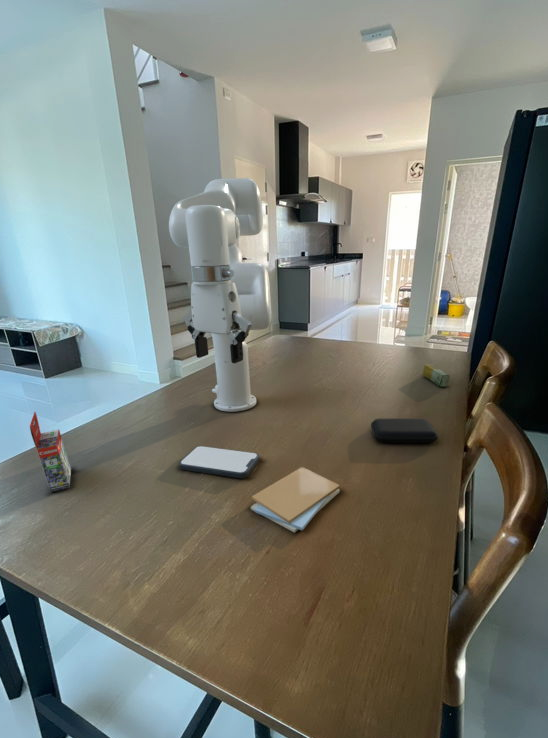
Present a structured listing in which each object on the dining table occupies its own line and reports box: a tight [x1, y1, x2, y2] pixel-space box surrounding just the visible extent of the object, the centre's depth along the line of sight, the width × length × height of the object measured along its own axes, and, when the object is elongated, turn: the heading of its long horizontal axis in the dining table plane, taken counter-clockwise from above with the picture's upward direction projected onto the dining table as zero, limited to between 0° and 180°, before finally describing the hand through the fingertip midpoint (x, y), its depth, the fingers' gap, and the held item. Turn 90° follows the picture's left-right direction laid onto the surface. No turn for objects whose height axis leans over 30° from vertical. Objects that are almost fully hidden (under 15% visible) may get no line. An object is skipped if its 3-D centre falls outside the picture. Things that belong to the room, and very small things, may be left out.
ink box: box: [29, 411, 72, 493], centre depth 76 cm, size 4×8×15 cm, turn 26°
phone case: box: [178, 445, 261, 479], centre depth 83 cm, size 9×2×16 cm
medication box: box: [421, 363, 451, 388], centre depth 127 cm, size 12×3×4 cm, turn 10°
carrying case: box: [370, 417, 439, 444], centre depth 93 cm, size 11×3×15 cm
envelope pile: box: [250, 466, 341, 534], centre depth 70 cm, size 12×15×2 cm
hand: (219, 358), depth 82 cm, fingers open, 9 cm apart
